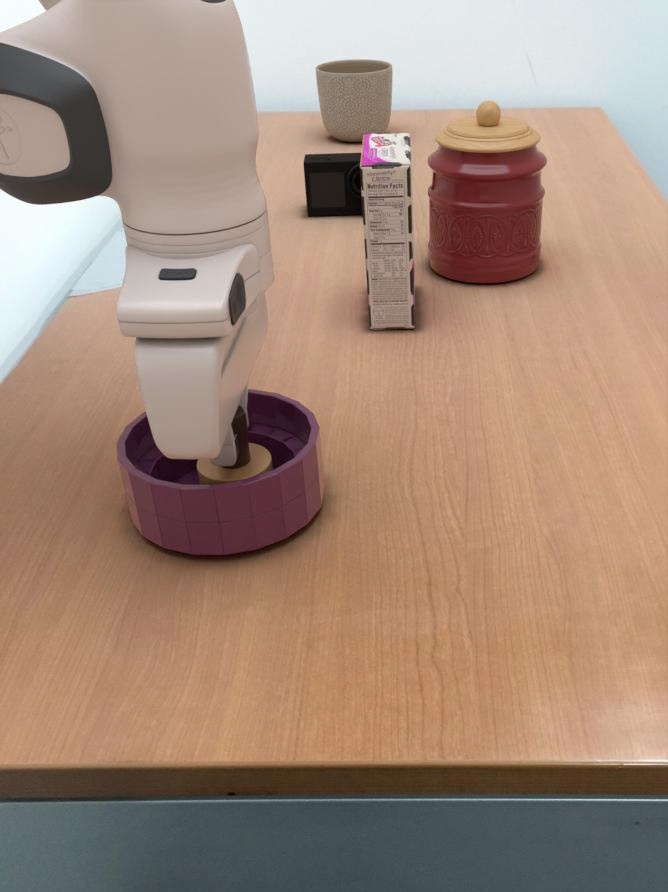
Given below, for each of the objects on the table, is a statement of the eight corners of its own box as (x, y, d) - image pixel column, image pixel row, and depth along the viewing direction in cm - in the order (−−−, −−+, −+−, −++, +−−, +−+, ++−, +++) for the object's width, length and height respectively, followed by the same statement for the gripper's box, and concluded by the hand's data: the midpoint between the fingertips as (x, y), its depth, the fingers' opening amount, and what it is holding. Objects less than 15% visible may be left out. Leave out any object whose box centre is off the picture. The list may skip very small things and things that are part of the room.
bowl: (108, 560, 66) (89, 488, 63) (160, 454, 78) (146, 388, 74) (311, 563, 65) (304, 490, 62) (333, 456, 77) (328, 389, 73)
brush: (195, 515, 69) (179, 430, 65) (211, 475, 73) (197, 393, 69) (269, 515, 69) (258, 430, 65) (280, 475, 73) (271, 393, 69)
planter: (316, 131, 164) (311, 61, 158) (387, 126, 166) (385, 57, 160) (324, 149, 154) (319, 75, 148) (400, 144, 156) (398, 71, 150)
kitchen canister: (559, 258, 112) (572, 95, 102) (506, 294, 104) (514, 120, 93) (464, 239, 118) (466, 84, 108) (406, 272, 109) (403, 106, 99)
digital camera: (306, 219, 126) (301, 164, 121) (308, 207, 130) (304, 153, 126) (385, 217, 126) (383, 162, 122) (384, 204, 130) (382, 151, 126)
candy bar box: (368, 289, 105) (361, 132, 96) (414, 288, 105) (411, 131, 96) (366, 331, 96) (358, 162, 87) (415, 330, 96) (413, 161, 87)
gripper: (190, 208, 69) (217, 381, 77) (105, 322, 52) (151, 528, 61) (277, 207, 69) (294, 381, 77) (219, 322, 52) (249, 528, 60)
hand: (230, 447), depth 69 cm, fingers closed on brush, 2 cm apart
